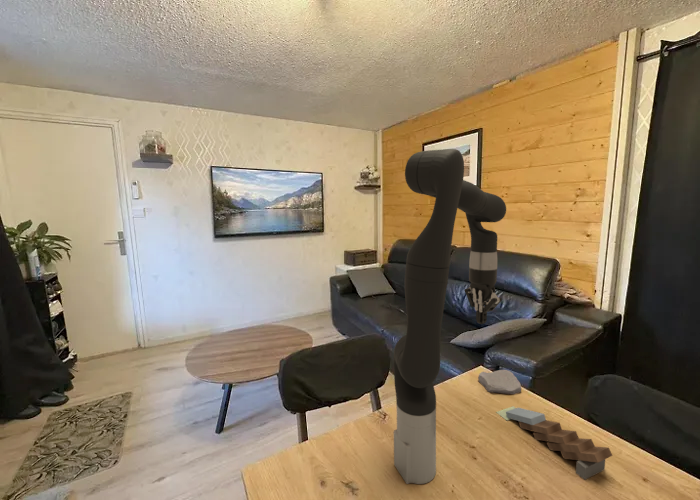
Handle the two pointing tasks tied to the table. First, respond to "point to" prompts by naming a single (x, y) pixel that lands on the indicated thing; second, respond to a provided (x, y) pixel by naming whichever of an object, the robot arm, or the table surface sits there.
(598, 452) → the domino
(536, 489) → the table surface
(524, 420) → the domino
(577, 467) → the block
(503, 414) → the pad
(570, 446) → the domino
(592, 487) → the table surface
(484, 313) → the robot arm
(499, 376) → the stone block
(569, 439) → the domino
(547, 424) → the domino
